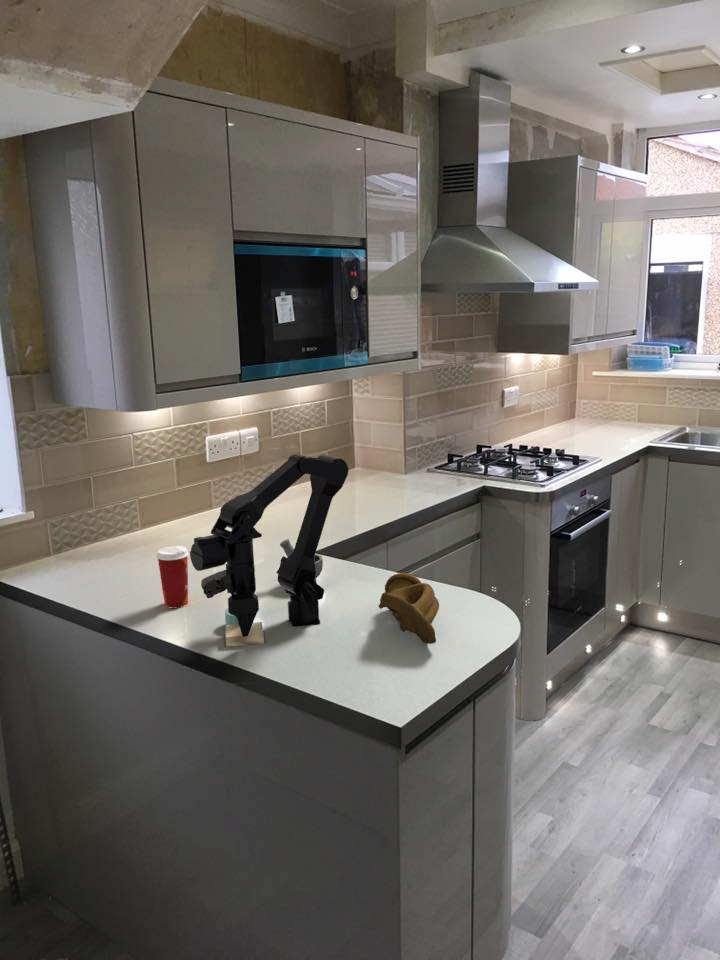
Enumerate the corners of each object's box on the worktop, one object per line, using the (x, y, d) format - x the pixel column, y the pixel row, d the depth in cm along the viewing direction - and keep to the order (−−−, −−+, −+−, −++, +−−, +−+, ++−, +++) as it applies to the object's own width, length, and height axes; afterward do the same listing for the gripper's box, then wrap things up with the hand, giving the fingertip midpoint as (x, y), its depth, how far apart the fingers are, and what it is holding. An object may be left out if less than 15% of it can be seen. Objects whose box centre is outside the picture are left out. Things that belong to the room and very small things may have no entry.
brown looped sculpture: (342, 611, 167) (376, 563, 186) (364, 662, 170) (395, 610, 189) (419, 597, 159) (447, 548, 178) (441, 651, 162) (466, 597, 181)
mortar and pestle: (327, 578, 209) (325, 535, 206) (319, 591, 200) (317, 546, 197) (286, 576, 211) (284, 534, 208) (276, 589, 202) (274, 544, 199)
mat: (264, 632, 175) (264, 630, 175) (266, 645, 169) (266, 643, 168) (224, 635, 174) (223, 634, 174) (224, 649, 167) (224, 647, 167)
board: (262, 631, 175) (261, 621, 174) (263, 643, 169) (263, 633, 168) (226, 634, 174) (225, 625, 173) (226, 646, 167) (225, 637, 167)
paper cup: (198, 603, 193) (194, 549, 190) (172, 612, 188) (168, 557, 185) (179, 595, 198) (175, 543, 195) (153, 604, 193) (149, 550, 190)
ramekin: (252, 620, 182) (251, 604, 181) (253, 631, 176) (252, 614, 176) (226, 623, 181) (224, 607, 180) (226, 633, 175) (225, 616, 175)
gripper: (202, 549, 175) (207, 615, 178) (201, 577, 157) (206, 649, 160) (253, 546, 177) (256, 610, 180) (256, 573, 159) (260, 644, 162)
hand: (244, 628), depth 171 cm, fingers open, 8 cm apart
